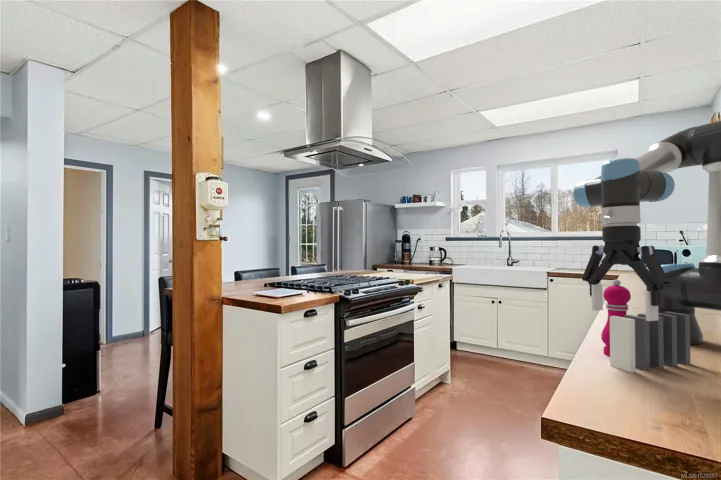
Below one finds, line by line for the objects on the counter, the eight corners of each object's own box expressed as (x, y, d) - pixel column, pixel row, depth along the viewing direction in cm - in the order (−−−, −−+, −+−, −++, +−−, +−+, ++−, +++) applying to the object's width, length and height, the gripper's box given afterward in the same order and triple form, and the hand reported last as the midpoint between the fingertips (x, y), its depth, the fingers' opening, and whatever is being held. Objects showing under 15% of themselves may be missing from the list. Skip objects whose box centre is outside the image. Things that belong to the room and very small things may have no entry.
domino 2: (642, 361, 96) (642, 313, 96) (663, 367, 91) (663, 317, 91) (637, 362, 95) (637, 313, 95) (658, 368, 91) (658, 317, 91)
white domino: (615, 365, 93) (614, 315, 93) (635, 371, 88) (634, 319, 88) (610, 365, 93) (609, 316, 93) (630, 372, 88) (629, 320, 88)
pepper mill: (624, 361, 96) (623, 281, 97) (595, 353, 103) (594, 279, 103) (640, 356, 100) (639, 280, 100) (611, 350, 106) (610, 277, 106)
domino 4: (668, 358, 98) (668, 311, 99) (690, 364, 94) (689, 314, 94) (664, 358, 98) (663, 311, 98) (685, 364, 93) (685, 315, 93)
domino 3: (655, 360, 97) (655, 312, 97) (677, 366, 92) (676, 316, 92) (651, 360, 97) (650, 312, 97) (672, 366, 92) (671, 316, 92)
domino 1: (629, 363, 94) (628, 314, 95) (649, 369, 90) (649, 318, 90) (624, 364, 94) (623, 315, 94) (644, 370, 89) (644, 318, 89)
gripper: (565, 227, 102) (567, 307, 102) (664, 222, 78) (667, 327, 78) (587, 227, 104) (589, 305, 104) (690, 222, 80) (693, 324, 80)
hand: (622, 315), depth 91 cm, fingers open, 13 cm apart
